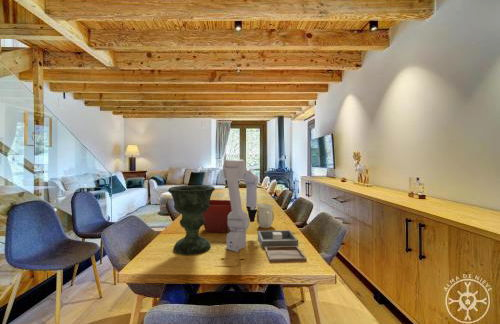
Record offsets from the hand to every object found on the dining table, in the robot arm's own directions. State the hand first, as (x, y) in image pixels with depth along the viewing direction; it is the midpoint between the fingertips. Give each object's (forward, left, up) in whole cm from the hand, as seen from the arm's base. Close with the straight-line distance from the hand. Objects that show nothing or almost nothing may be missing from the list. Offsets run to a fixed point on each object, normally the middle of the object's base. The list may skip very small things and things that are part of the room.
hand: (251, 220), depth 153 cm
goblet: (-33, +11, -10) cm, 36 cm away
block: (0, -17, -9) cm, 19 cm away
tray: (-14, -30, -9) cm, 34 cm away
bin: (0, -17, -9) cm, 19 cm away
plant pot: (-1, +25, -10) cm, 27 cm away
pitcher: (+22, +6, -10) cm, 25 cm away
